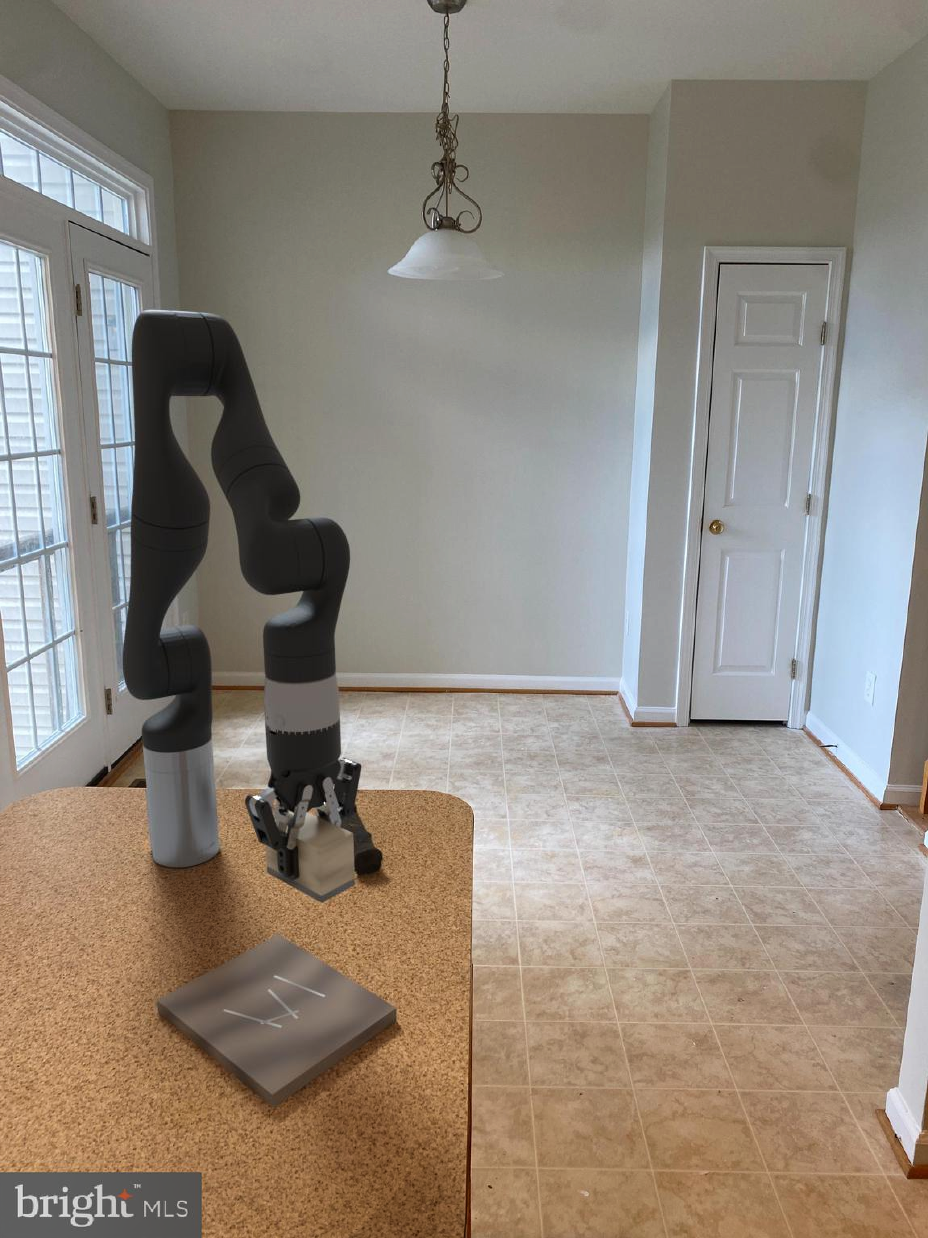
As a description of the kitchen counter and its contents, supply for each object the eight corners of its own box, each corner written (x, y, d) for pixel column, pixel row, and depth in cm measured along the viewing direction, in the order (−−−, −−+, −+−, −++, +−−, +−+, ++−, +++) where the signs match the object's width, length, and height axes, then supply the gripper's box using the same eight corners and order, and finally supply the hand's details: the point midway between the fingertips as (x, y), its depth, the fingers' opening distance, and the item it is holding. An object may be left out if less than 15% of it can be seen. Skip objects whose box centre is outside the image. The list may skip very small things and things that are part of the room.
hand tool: (383, 874, 124) (382, 844, 123) (354, 878, 123) (353, 848, 121) (359, 814, 141) (359, 787, 140) (334, 818, 140) (333, 790, 139)
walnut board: (157, 1012, 96) (156, 1000, 95) (279, 945, 107) (278, 934, 107) (273, 1108, 83) (272, 1094, 83) (396, 1020, 95) (396, 1008, 94)
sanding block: (267, 873, 97) (264, 822, 95) (300, 857, 100) (297, 807, 98) (321, 903, 91) (319, 849, 89) (354, 885, 94) (353, 833, 93)
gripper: (331, 690, 99) (337, 832, 103) (221, 725, 88) (231, 882, 92) (379, 706, 94) (382, 854, 98) (268, 744, 83) (277, 909, 87)
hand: (309, 866), depth 95 cm, fingers closed on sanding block, 4 cm apart
